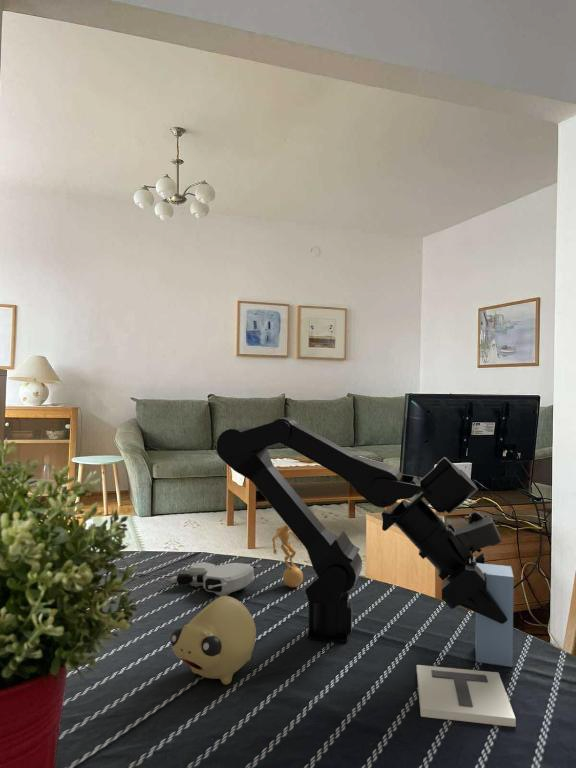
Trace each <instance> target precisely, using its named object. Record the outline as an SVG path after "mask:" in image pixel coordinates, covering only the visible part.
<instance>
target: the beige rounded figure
mask: <svg viewBox="0 0 576 768" xmlns="http://www.w3.org/2000/svg"><path fill="white" fill-rule="evenodd" d="M256 639H257V629H256V623H255V620H254V617H253V616H252V613H250V611H249V609H248V608H247V607H246V606H245V605H244V604H243V603H242V602H241V601H239V600H238V599H237V598H235V597H232V596H229V595H227V596H218V597H217V598H215V599H214V600H213V601H212V602H209V604H207V605H206V606H205V607H204V608H202V610H201V611H199V612H198V613H197V614H196V615H195V616H194V617H193V618H192V619H191V620H190V621H189V622H188V623H187V624H184V625H183V627H182V628H181V627H180V628H177V629H175V630H174V631H172V633H171V636H170V644H171V649H172V651H173V653H174V655H175V656H176V657H177V658H178V659H179V660H180V661H182V662H184V663H185V664H187V665H188V666H189V667H190V669H191V672H192V673H194V674H196V675H199V676H201V677H202V678H203V677H204V678H207V679H212V680H213V679H214V680H215V679H218V680H220V682H221V683H222V685H224V686H228V685H229V684H230V683H231V682H232V680H233V675H234V674H235V673H236V672H238V671H239V670H240V669H241V668H242V667H244V665H245V664H246V663H248V662H249V661H251V659H252V654H253V652H254V651H253V650H254V649H255V644H256Z"/></svg>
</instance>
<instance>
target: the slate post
mask: <svg viewBox="0 0 576 768" xmlns="http://www.w3.org/2000/svg"><path fill="white" fill-rule="evenodd" d="M476 565H477V566H478V567H479V568H480V570H481V571H482V572H483V574H484V573H485V572H486V577H487V586H486V587H487V589H488V591H489V592H490V594H491V595H492V596H493V598H494V599H495V601H496V602H497V604H498V605H499V607H500V608H501V609H502V611H503V612H504V614H505V615H506V617H507V621H506V622H505V623H504V624H501V623H498V622H496V621H494V620H492V619H490V618H488V617H485V616H483V615H481V614H479V613H477V612H475V636H474V637H475V638H474V639H475V642H474V643H475V645H474V646H475V647H474V649H475V662H476V663H483V664H489V665H497V666H503V667H510V668H513V650H514V641H513V639H514V584H515V581H514V578H515V577H514V574H513V573H514V571H513V569H512V566H511V565H502V564H501V565H500V564H490V563H485V564H481V563H476Z"/></svg>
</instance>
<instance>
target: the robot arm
mask: <svg viewBox="0 0 576 768" xmlns="http://www.w3.org/2000/svg"><path fill="white" fill-rule="evenodd" d="M277 444H282V445H284V446H286V447H287V448H290V449H292V450H293V451H294V452H297V453H298V454H300V455H302V456H303V457H306V458H308V459H309V460H311V461H313V462H314V463H316V464H318V465H320V466H322V467H323V468H325V469H327V470H329V471H330V472H331V473H334V474H335V475H337V476H339V477H340V478H342V479H343V480H344V481H346V482H347V483H348V484H349V485H350V486H351V487H352V488H353V490H354V491H355V492H356V493H358V494H359V495H360V496H361V497H363V499H365V500H366V501H367V502H369V503H370V504H371V505H373V506H375V507H377V508H382V509H383V508H388V507H391V506H393V505H394V504H396V503H397V502H398V501H399V500H401V501H400V502H399V503H397V505H396V506H394V507H393V508H392V509H391V510H386V509H383V511H382V512H381V518H382V525H381V526H382V527H381V530H382V531H384V532H386V531H387V530H388V529H390V528H391V527H392V526H393V525H396V527H397V528H399V530H400V531H401V532H402V533H403V534H404V536H406V537H407V539H408V540H409V541H410V542H411V543H412V544H413V545H414V546H415V547H416V548H417V549H418V550H419V551H418V556H420V558H421V559H422V560H424V559H425V558H426V559H427V560H428V561H429V562H430V563H431V565H432V566H433V567H434V568H435V569H436V570H437V571H438V573H437V577H439V579H441V580H442V583H441V584H442V585H441V600H442V601H443V602H444V603H445V604H446V606H448V607H449V609H451V610H453V609H455V608H456V607H462V608H464V609H467V610H470V611H473V612H475V613H476V612H477V613H479V614H481V615H483V616H485V617H488V618H490V619H492V620H494V621H496V622H498V623H501V624H504V623H505V622H506V621H507V617H506V615H505V614H504V612H503V611H502V609H501V608H500V607H499V605H498V604H497V602H496V601H495V599H494V598H493V596H492V595H491V594H490V592H489V591H488V589H487V587H486V586H487V577H486V572H485V573H484V574H483V572H482V571H481V570H480V568H479V567H478V566H477V565H476V563H481V564H486V563H485V562H486V561H485V553H484V552H482V551H483V549H484V548H486V547H489V546H496V545H498V544H500V543H501V542H502V538H501V534H500V532H499V530H498V528H497V526H496V523H495V522H494V519H493V517H492V516H490V515H485V516H484V515H483V514H482V513H481V512H479V510H478V511H474V512H473V511H472V512H470V513H469V514H468V523H463V525H462V526H459V527H457V528H456V527H455V526H454V525H453V523H451V522H450V523H449V522H446V523H445V522H444V521H443V520H442V519H441V518H440V517H439V516H438V515H437V513H438V514H441V513H442V514H445V512H446V513H448V514H452V513H453V512H454V511H455V510H456V509H457V508H458V507H460V506H461V505H462V504H463V503H464V502H466V501H467V500H468V499H469V498H470V497H472V496H473V494H475V493H476V492H477V491H478V490H479V488H478V486H476V483H475V482H473V480H472V479H471V478H470V477H469V475H467V473H466V472H464V471H463V469H459V468H458V466H456V465H455V464H454V463H453V462H451V461H450V460H449V459H448V457H446V456H443V457H442V458H441V459H440V460H439V461H438V462H437V464H436V465H435V466H434V467H433V468H432V469H431V470H430V471H429V472H428V473H426V475H425V476H423V477H420V476H416V475H410V474H404V473H401V471H400V469H397V468H396V467H395V466H392V465H390V464H386V463H384V462H381V461H378V460H375V459H370V458H367V457H363V456H360V455H357V454H354V453H353V452H351V451H349V450H347V449H345V448H344V447H342V446H340V445H339V444H336V443H335V442H333V441H331V440H329V439H327V438H325V436H324V437H323V436H322V435H321V434H318V433H316V432H315V431H313V430H311V429H309V428H307V427H306V426H303V425H302V424H300V423H298V422H297V421H296V420H295V419H293V418H292V417H289V416H288V417H281V418H278V419H277V418H276V419H274V420H273V421H271V422H269V423H266V424H262V425H259V426H256V427H251V426H245V425H243V426H239V427H238V426H237V427H234V428H229V429H226V430H224V431H223V432H221V433H220V434H219V436H218V438H217V440H216V448H215V450H216V453H217V455H218V457H219V459H221V461H223V462H224V463H225V464H226V465H227V466H228V467H230V469H232V470H233V471H235V472H236V473H238V474H239V475H241V476H242V477H244V478H246V479H247V480H249V481H251V483H253V485H254V486H255V487H256V488H257V489H258V491H259V492H260V494H261V495H262V496H263V497H264V498H265V500H266V501H267V503H269V505H270V506H271V507H272V509H274V511H275V512H276V513H277V515H279V517H280V518H281V520H282V521H283V522H284V523H285V525H288V527H289V530H290V531H292V532H293V533H294V534H295V536H296V537H297V538H298V539H299V540H300V542H301V545H303V546H304V548H305V550H306V552H307V554H308V557H309V560H310V563H311V566H312V569H313V571H314V572H315V576H314V577H313V578H312V580H311V581H310V583H309V584H308V585H307V587H306V588H305V590H304V591H305V595H306V597H307V600H308V621H307V622H308V628H307V633H306V637H305V638H306V639H307V640H313V641H315V640H316V641H326V642H337V643H347V642H348V640H349V635H351V634H352V630H353V603H352V602H351V601H350V593H349V592H350V591H351V589H353V587H354V585H355V584H356V582H357V580H358V578H359V576H360V575H361V572H362V569H363V560H362V557H361V556H360V553H359V552H360V548H359V547H358V546H356V545H355V544H354V543H352V541H351V540H350V538H349V536H348V535H347V533H346V532H345V531H344V530H342V531H341V532H340V533H339V535H336V534H334V533H333V532H331V531H330V530H328V529H327V528H326V527H325V526H324V525H323V523H322V522H321V521H320V519H318V517H317V516H316V515H315V513H314V512H313V511H312V510H311V509H310V508H309V507H308V505H307V504H306V503H305V502H304V500H303V499H302V498H301V497H300V495H299V494H297V492H296V491H295V489H294V488H293V487H292V486H291V485H290V484H289V482H288V481H287V479H285V477H284V476H283V475H282V474H281V472H280V471H279V470H278V469H277V468H276V467H275V465H274V463H273V461H272V459H271V455H270V452H269V451H268V450H269V449H268V447H271V446H273V445H277ZM420 491H421V492H420ZM419 492H420V493H419ZM418 493H419V494H418ZM416 495H417V496H416ZM414 496H415V497H414ZM413 497H414V498H413ZM423 498H424V500H426V501H424V500H423ZM406 499H412V500H410V501H408V500H406ZM426 502H427V503H428V504H429V505H428V504H427V503H426ZM430 506H431V507H432V508H433V509H434V510H435V511H437V513H436V512H435V511H434V510H433V509H432V508H431V507H430ZM475 552H478V553H480V554H479V555H478V556H477V557H475V556H474V553H475ZM481 552H482V553H481Z"/></svg>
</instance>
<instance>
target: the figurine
mask: <svg viewBox="0 0 576 768" xmlns="http://www.w3.org/2000/svg"><path fill="white" fill-rule="evenodd" d="M290 535H292V536H293V537H294V539H295V540H296V541H297V542H298V543H299V545H300V546H302V545H303V544H302V543H301V541H300V540H299V539H298V538H297V537H296V535H295V534H294V533H293V532H292V530H291V529H290V528H289V527H288V525H287V524H285V525H284V526H279V527H277V529H276V533H275V534H274V535H273V537H272V540H271V541H272V546H273V547H272V549H273V555H275V556H276V555H277V554H278V550H277V549H276V539H277V538H279V539H280V542H281V546H280V548H281V550H282V552H283V553H284V555H285V556H284V563H285V565H286V566H287V568H286V569H284V572H283V575H282V580H283V583H284V584H285V585H286V586H288V587H289V588H298V587H299V586H300V585H301V584H302V582H303V580H304V574H303V571H302V570H301V569H300V568H299V567H298V565H296V564H295V563H294V562H293V560H292V559H293V558H294V557H295V556H296V553H297V552H296V550H295V548H294V547H293V545H292V542H290V541H289V539H290ZM288 560H289V562H290V563H289V562H288Z"/></svg>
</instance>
